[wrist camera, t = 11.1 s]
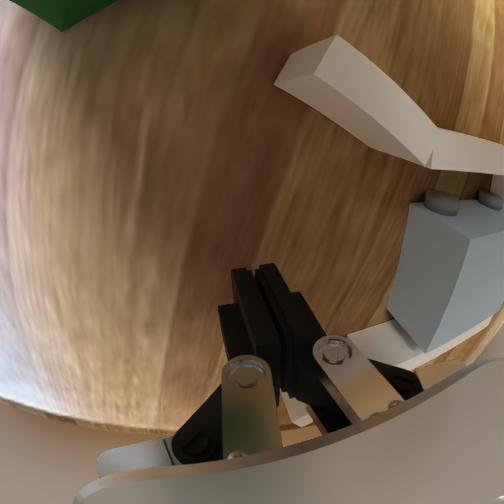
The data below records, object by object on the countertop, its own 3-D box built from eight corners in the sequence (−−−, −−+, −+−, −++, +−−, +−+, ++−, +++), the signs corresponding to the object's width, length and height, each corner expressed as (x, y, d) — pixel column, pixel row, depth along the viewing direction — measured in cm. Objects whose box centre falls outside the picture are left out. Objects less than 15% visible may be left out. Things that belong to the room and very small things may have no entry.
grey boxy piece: (409, 189, 13) (474, 224, 9) (488, 188, 14) (534, 213, 10) (382, 315, 17) (420, 361, 13) (461, 286, 18) (495, 317, 14)
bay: (271, 52, 8) (311, 30, 5) (506, 114, 11) (543, 126, 8) (274, 388, 17) (290, 430, 14) (454, 322, 21) (476, 345, 18)
